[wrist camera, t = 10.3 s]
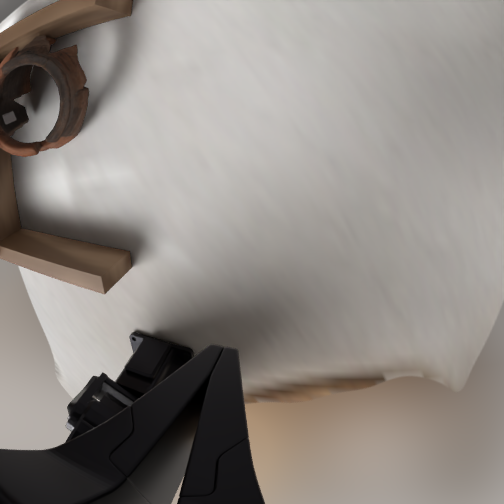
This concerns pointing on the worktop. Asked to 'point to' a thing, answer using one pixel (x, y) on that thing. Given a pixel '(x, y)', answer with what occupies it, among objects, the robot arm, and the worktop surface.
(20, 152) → the pottery mug
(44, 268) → the walnut bay
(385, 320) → the worktop surface
